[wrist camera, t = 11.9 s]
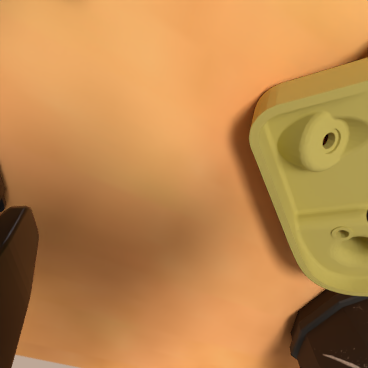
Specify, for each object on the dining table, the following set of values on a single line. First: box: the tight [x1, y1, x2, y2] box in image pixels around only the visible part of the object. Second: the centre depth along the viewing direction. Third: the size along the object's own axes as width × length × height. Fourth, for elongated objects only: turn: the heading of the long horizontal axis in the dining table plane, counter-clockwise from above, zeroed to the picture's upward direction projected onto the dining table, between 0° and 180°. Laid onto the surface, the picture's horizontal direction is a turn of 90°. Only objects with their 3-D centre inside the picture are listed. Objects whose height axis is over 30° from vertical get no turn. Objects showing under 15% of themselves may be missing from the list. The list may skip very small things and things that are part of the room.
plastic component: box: [249, 57, 368, 296], centre depth 25 cm, size 20×7×10 cm
